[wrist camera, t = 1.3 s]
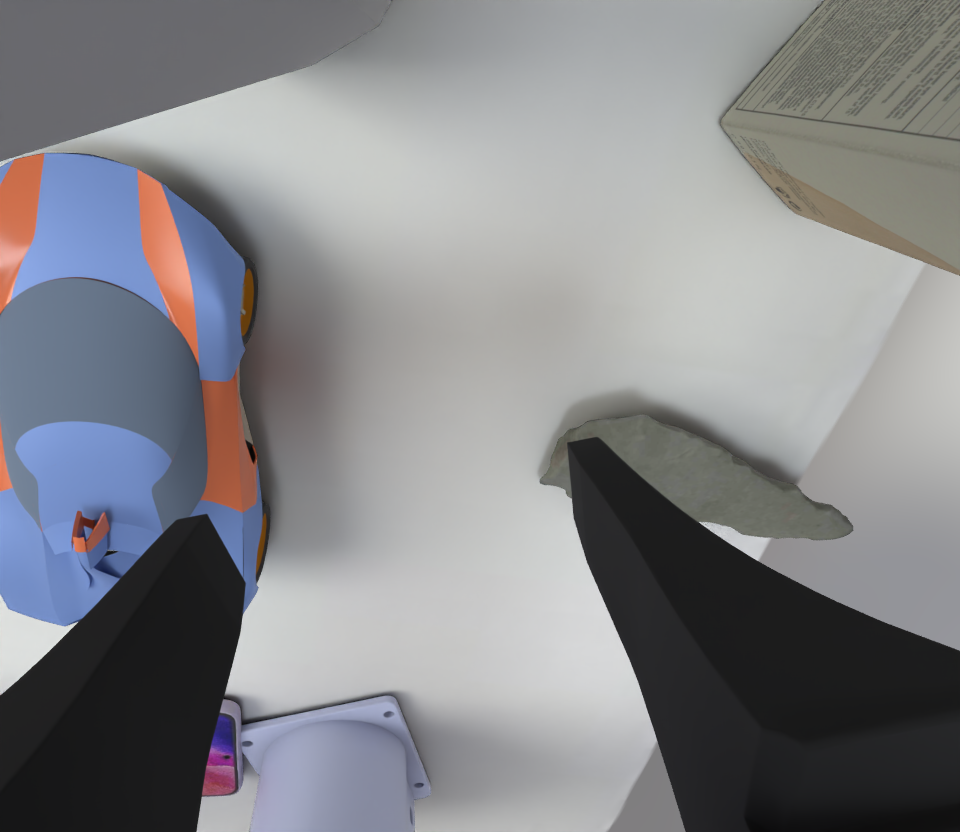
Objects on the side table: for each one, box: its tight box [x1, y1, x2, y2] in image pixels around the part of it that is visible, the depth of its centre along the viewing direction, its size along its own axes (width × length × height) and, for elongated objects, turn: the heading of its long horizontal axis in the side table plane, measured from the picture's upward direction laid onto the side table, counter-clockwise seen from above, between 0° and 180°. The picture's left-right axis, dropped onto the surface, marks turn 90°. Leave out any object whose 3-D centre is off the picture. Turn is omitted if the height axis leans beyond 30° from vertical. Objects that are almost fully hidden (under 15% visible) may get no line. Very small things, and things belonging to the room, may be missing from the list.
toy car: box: [0, 153, 270, 626], centre depth 17 cm, size 8×15×5 cm, turn 169°
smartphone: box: [202, 699, 243, 797], centre depth 28 cm, size 7×1×15 cm
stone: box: [540, 414, 853, 540], centre depth 23 cm, size 13×2×5 cm
